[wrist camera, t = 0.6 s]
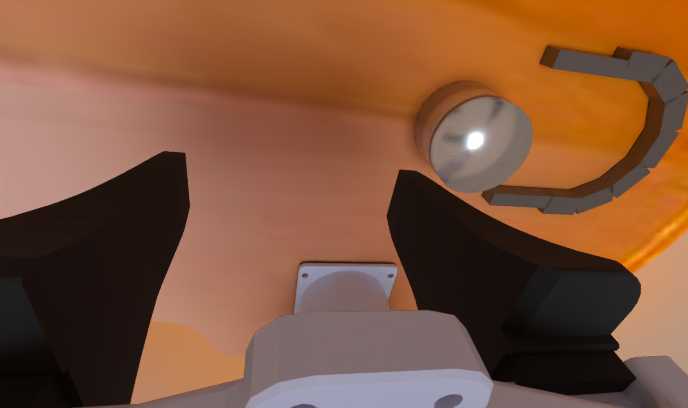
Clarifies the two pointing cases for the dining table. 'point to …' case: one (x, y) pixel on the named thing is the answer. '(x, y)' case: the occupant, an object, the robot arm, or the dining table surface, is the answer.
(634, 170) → the u-shaped bracket
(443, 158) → the cylinder
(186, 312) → the dining table surface
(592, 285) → the robot arm
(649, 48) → the dining table surface
